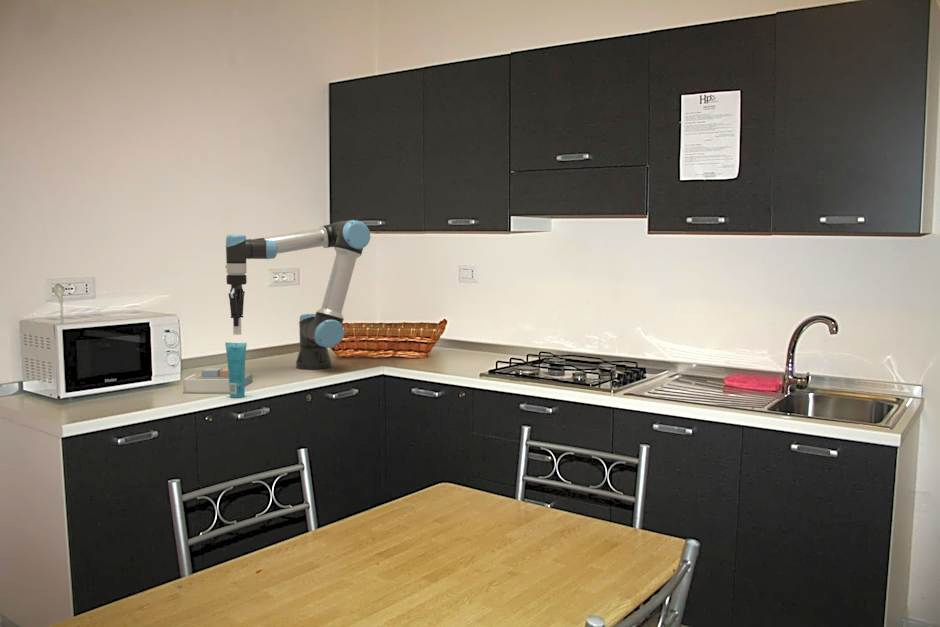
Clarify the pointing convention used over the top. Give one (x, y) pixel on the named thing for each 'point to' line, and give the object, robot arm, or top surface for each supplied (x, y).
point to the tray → (205, 385)
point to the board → (247, 378)
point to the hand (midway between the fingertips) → (237, 334)
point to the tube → (236, 368)
